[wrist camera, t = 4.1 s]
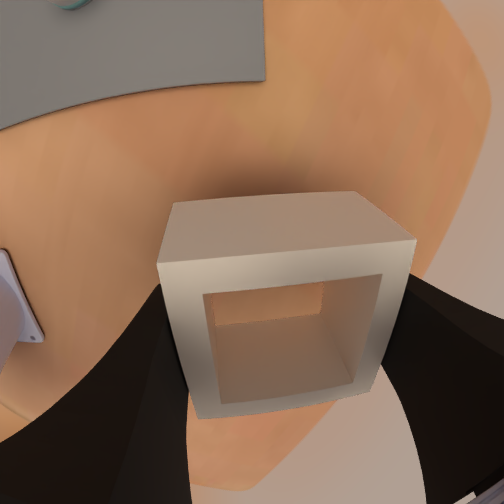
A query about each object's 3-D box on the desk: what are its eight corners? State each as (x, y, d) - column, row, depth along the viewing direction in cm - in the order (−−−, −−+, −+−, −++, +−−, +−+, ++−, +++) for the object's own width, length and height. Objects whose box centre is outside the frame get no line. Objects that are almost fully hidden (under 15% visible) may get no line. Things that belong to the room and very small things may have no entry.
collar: (196, 342, 11) (198, 419, 8) (173, 202, 9) (156, 263, 6) (336, 325, 12) (369, 391, 9) (355, 190, 9) (416, 239, 6)
